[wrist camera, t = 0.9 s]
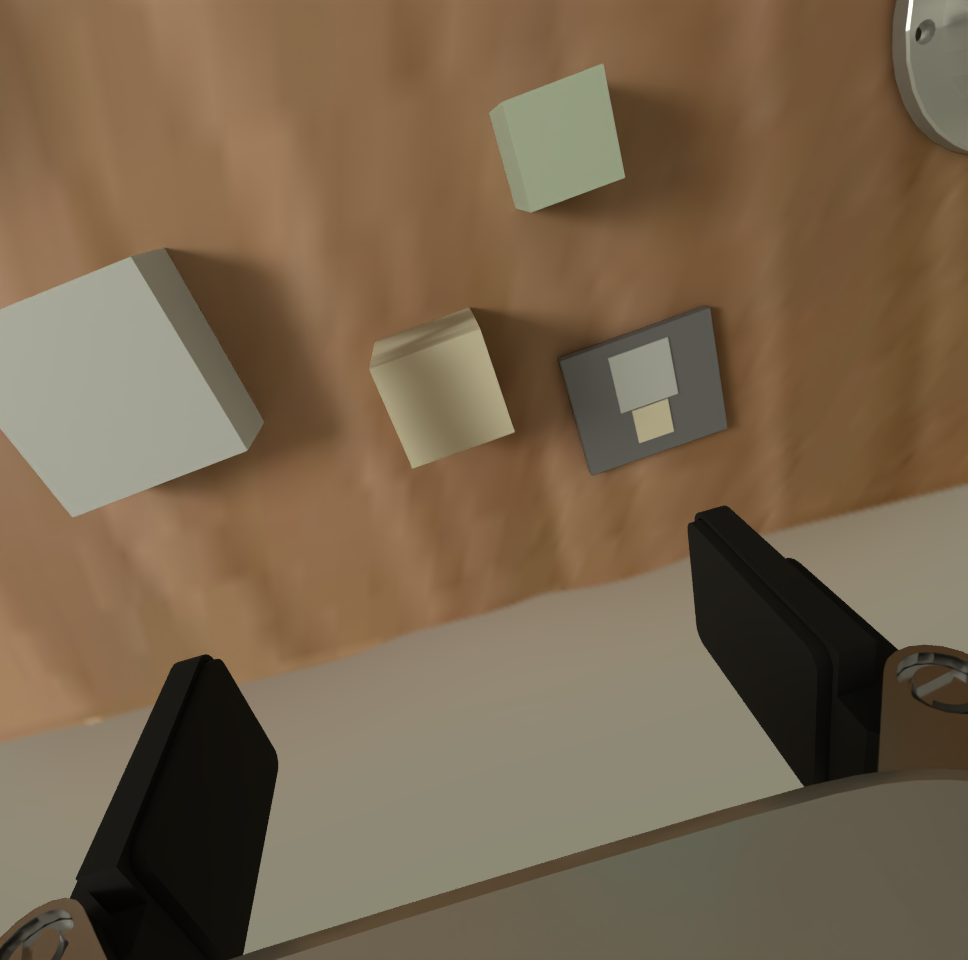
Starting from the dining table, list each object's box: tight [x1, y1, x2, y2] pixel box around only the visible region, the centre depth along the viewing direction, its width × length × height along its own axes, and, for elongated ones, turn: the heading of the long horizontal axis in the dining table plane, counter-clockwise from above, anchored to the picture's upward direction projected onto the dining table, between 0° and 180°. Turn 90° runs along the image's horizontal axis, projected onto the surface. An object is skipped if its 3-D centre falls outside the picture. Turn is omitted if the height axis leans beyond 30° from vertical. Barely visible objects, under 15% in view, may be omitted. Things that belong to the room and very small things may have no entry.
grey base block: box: [0, 248, 264, 518], centre depth 28 cm, size 9×9×4 cm
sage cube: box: [489, 64, 625, 212], centre depth 25 cm, size 4×4×4 cm
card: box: [558, 306, 728, 475], centre depth 32 cm, size 8×7×1 cm
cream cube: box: [369, 307, 515, 468], centre depth 29 cm, size 5×5×5 cm
